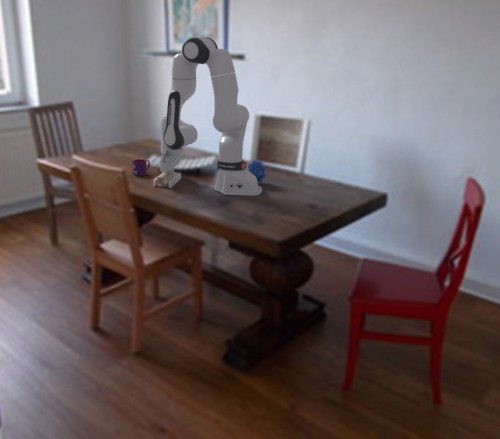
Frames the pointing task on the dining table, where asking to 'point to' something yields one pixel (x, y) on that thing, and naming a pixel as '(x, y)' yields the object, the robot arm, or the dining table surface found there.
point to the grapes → (257, 170)
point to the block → (164, 179)
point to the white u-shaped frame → (172, 182)
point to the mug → (140, 167)
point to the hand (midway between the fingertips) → (170, 176)
